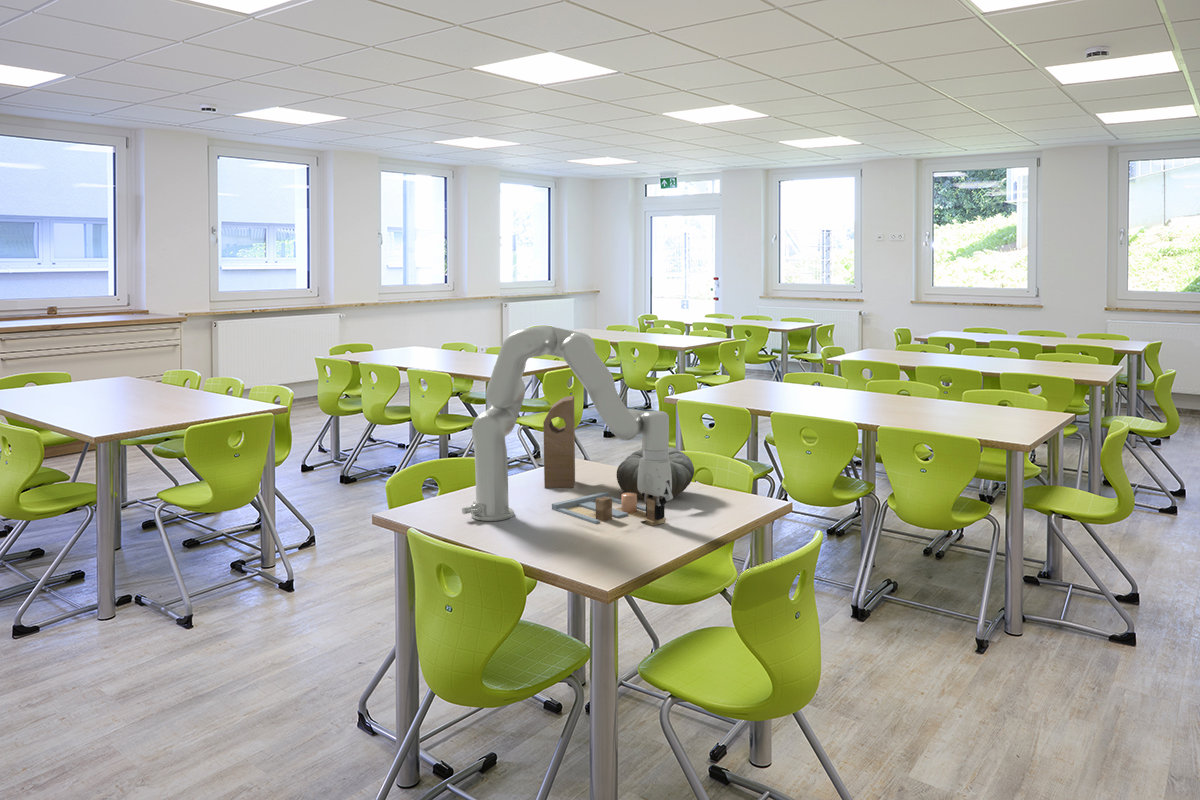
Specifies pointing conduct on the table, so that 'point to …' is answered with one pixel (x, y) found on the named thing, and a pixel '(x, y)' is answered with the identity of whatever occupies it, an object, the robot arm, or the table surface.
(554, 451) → the decorative block
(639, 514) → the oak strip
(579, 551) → the table surface
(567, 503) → the lane frame
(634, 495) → the peach rounded cylinder
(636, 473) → the gourd
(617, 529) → the table surface
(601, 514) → the brown wooden block
